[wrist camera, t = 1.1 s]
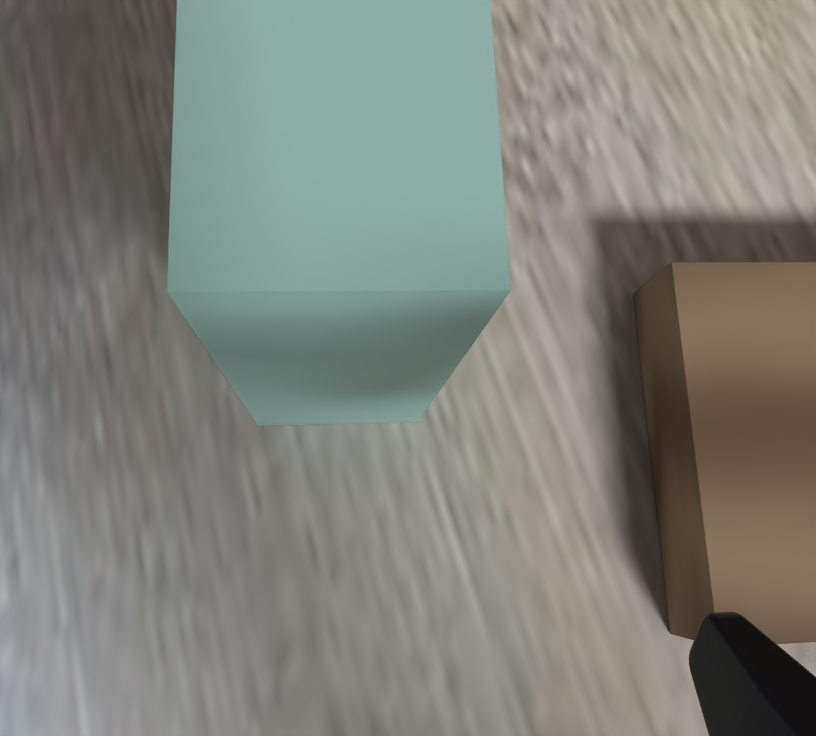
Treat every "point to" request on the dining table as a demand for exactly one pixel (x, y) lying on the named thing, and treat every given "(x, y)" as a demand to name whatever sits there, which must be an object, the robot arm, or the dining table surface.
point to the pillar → (336, 200)
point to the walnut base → (733, 440)
